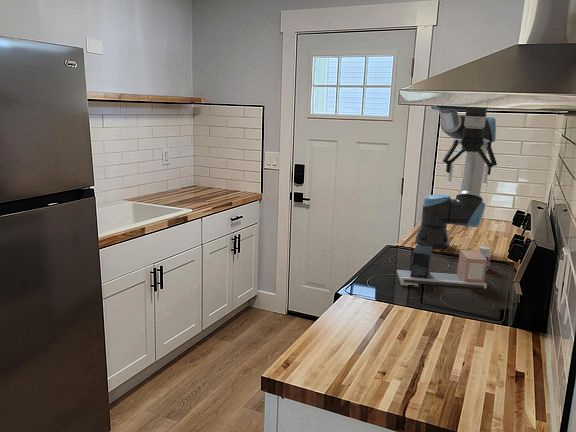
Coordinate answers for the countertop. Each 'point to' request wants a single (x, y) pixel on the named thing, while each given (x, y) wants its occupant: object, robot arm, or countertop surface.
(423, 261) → the small box
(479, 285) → the shelf
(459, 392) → the countertop surface
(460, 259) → the faced carton
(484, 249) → the pill bottle
